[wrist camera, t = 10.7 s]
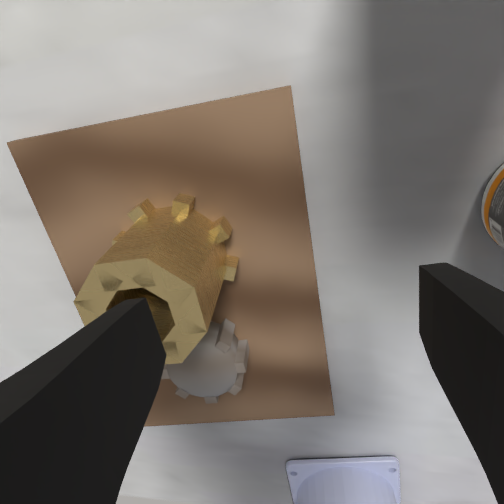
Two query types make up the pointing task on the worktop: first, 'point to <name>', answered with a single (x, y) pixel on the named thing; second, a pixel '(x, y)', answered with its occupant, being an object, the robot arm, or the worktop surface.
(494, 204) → the pill bottle
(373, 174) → the worktop surface
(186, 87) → the worktop surface
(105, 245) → the carrier plate
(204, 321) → the gear
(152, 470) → the worktop surface
